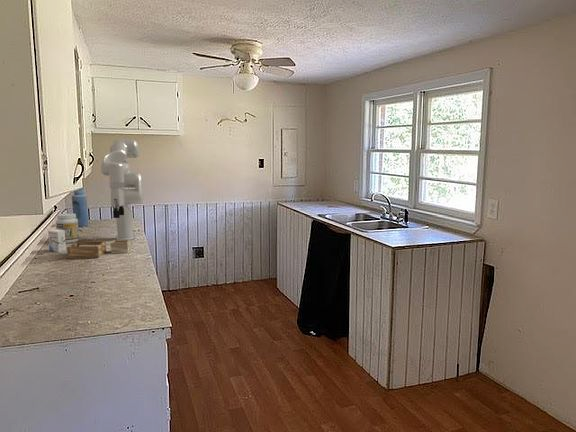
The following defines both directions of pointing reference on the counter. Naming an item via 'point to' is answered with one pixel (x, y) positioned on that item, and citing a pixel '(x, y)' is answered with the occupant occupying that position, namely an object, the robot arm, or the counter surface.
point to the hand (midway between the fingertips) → (118, 216)
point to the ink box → (57, 240)
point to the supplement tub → (68, 226)
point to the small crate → (120, 246)
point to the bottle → (80, 207)
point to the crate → (86, 249)
